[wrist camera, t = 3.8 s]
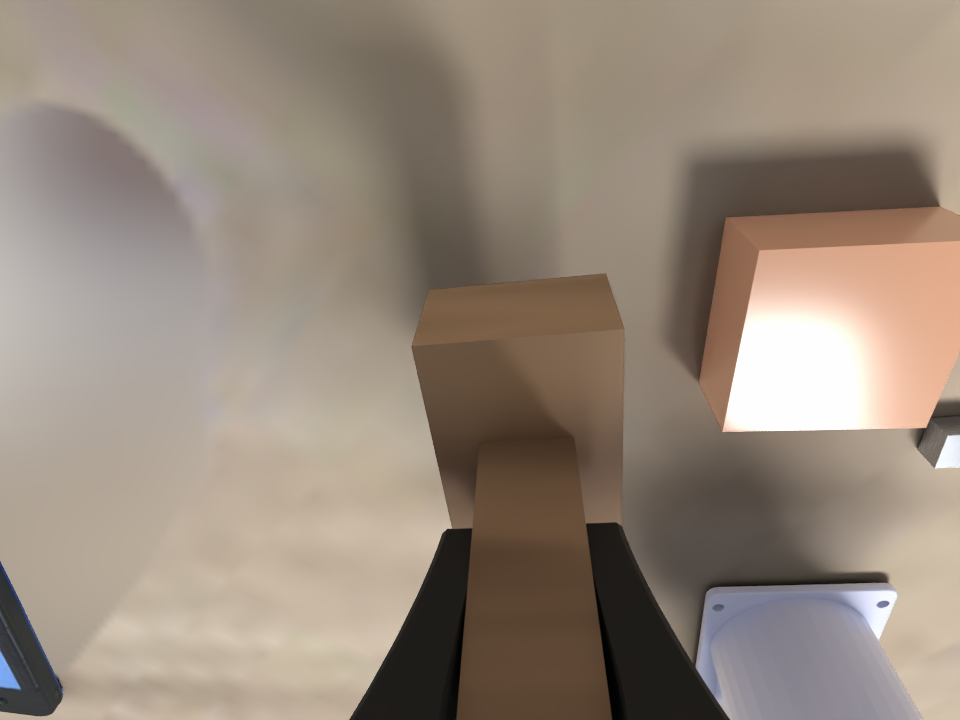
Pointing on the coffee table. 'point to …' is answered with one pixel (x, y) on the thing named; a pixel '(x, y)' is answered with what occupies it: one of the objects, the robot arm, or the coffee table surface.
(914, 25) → the coffee table surface
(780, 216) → the tile
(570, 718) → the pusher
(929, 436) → the frame
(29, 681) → the handheld game console
